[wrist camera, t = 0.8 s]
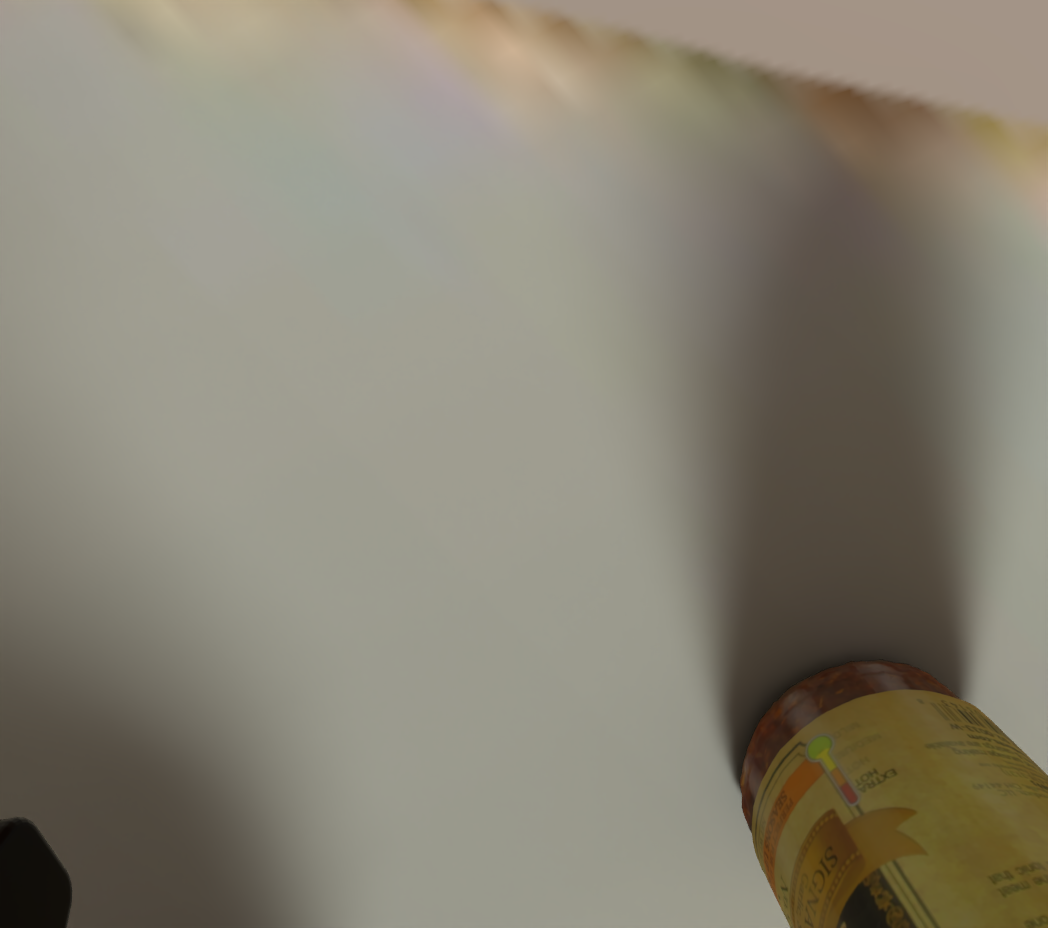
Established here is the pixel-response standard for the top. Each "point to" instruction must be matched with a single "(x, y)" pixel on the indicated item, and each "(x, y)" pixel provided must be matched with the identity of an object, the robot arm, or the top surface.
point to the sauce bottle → (894, 806)
